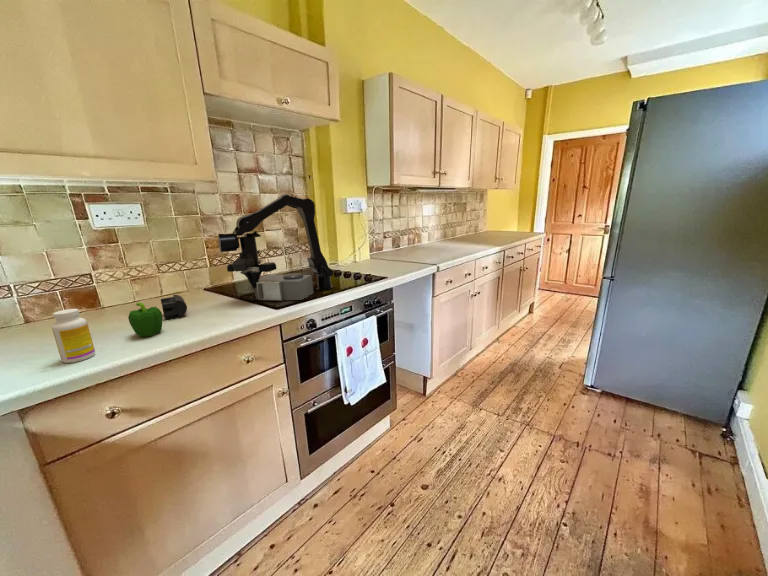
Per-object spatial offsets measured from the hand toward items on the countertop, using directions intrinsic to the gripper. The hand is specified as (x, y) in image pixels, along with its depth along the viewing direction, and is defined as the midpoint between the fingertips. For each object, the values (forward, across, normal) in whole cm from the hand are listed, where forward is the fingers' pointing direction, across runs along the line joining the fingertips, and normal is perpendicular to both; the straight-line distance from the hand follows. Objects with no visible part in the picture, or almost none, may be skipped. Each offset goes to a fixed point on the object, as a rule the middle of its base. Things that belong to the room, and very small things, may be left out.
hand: (254, 288), depth 133 cm
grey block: (+5, +9, +8) cm, 13 cm away
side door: (+5, +7, 0) cm, 8 cm away
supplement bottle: (+5, -16, -54) cm, 57 cm away
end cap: (+6, -19, -20) cm, 29 cm away
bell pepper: (+5, -12, -37) cm, 40 cm away
